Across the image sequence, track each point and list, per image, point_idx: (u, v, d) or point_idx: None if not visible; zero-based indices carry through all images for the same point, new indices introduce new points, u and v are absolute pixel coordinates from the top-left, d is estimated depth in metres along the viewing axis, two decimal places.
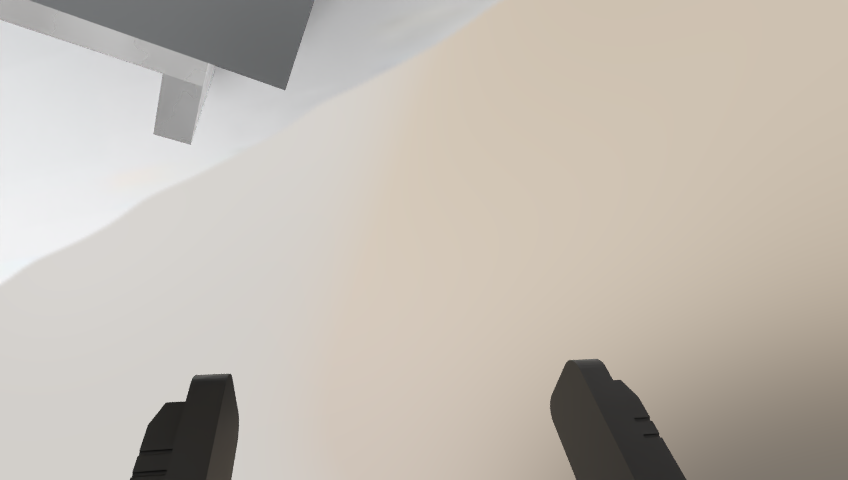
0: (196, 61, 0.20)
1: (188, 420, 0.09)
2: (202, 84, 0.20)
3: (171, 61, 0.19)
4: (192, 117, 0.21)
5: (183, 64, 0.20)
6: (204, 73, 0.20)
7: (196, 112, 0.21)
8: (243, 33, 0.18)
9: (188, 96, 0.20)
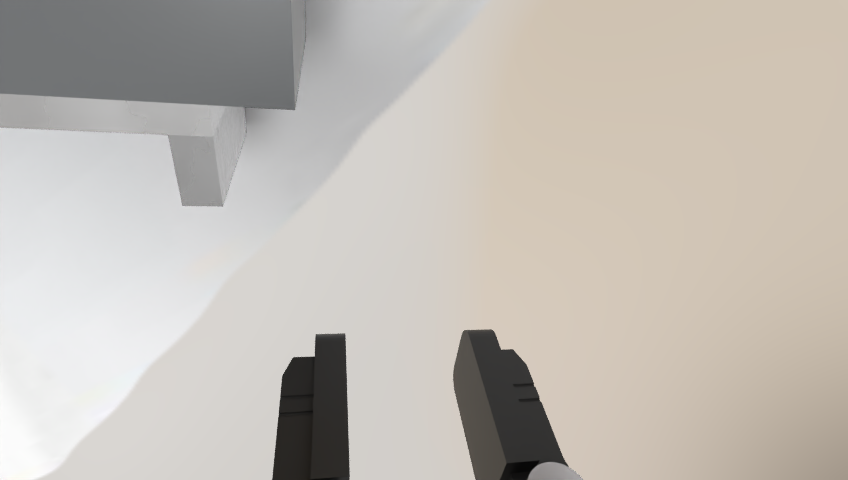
0: (196, 109, 0.17)
1: (321, 370, 0.11)
2: (211, 134, 0.18)
3: (171, 118, 0.17)
4: (214, 174, 0.19)
5: (184, 117, 0.17)
6: (209, 121, 0.17)
7: (216, 168, 0.18)
8: (227, 57, 0.15)
9: (202, 152, 0.18)
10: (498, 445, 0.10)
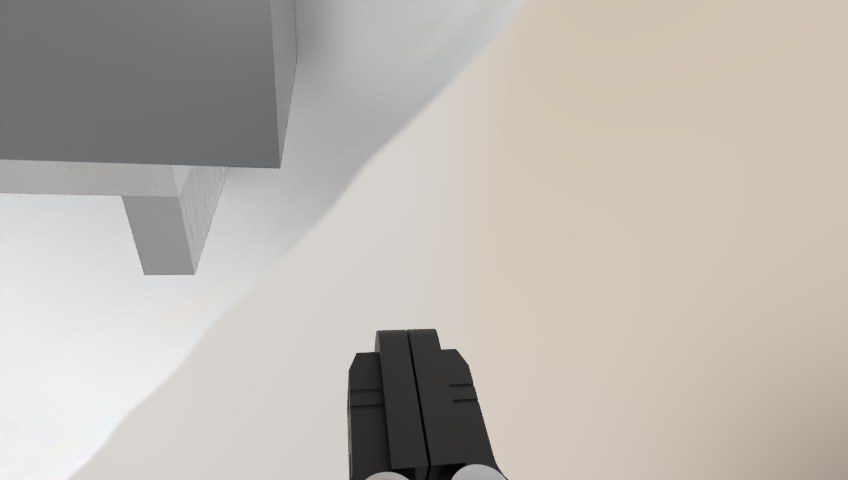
0: (155, 166, 0.14)
1: (387, 365, 0.11)
2: (177, 193, 0.14)
3: (124, 176, 0.14)
4: (182, 239, 0.15)
5: (141, 175, 0.14)
6: (173, 178, 0.14)
7: (184, 232, 0.15)
8: (189, 106, 0.12)
9: (166, 214, 0.14)
10: (426, 447, 0.10)
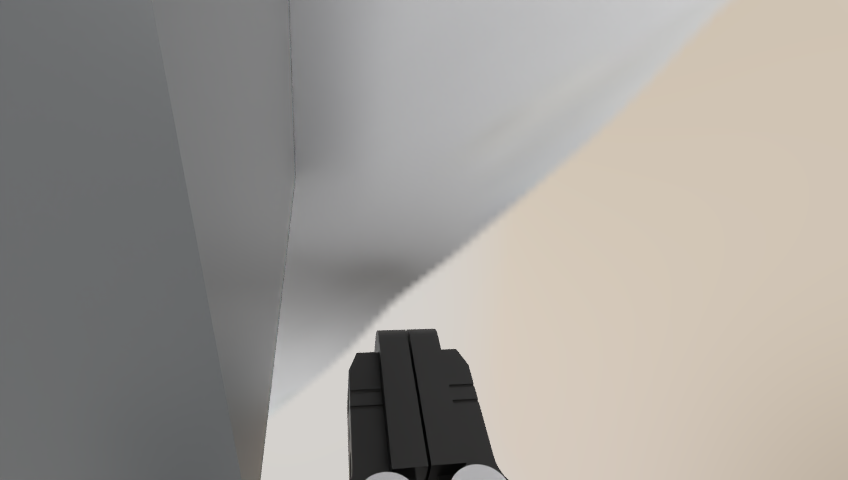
0: None
1: (387, 365, 0.11)
2: None
3: None
4: None
5: None
6: None
7: None
8: None
9: None
10: (426, 447, 0.10)
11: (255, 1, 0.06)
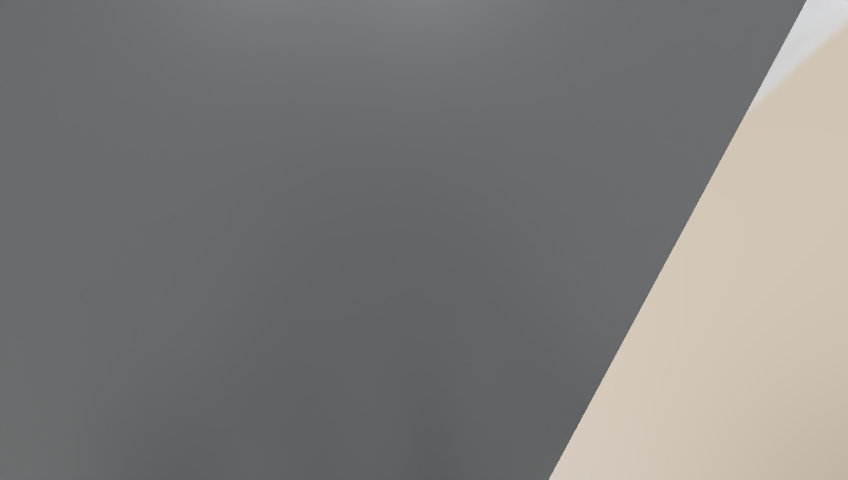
0: None
1: None
2: None
3: None
4: None
5: None
6: None
7: None
8: (391, 474, 0.05)
9: None
10: None
11: None
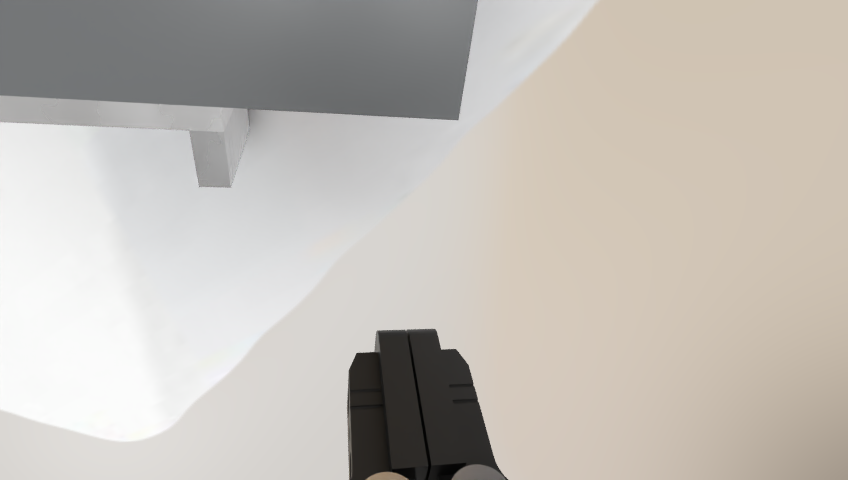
0: (211, 111, 0.22)
1: (387, 365, 0.11)
2: (222, 130, 0.23)
3: (192, 117, 0.22)
4: (224, 161, 0.24)
5: (202, 117, 0.22)
6: (221, 119, 0.23)
7: (226, 156, 0.24)
8: (420, 83, 0.22)
9: (215, 143, 0.23)
10: (427, 447, 0.10)
11: None
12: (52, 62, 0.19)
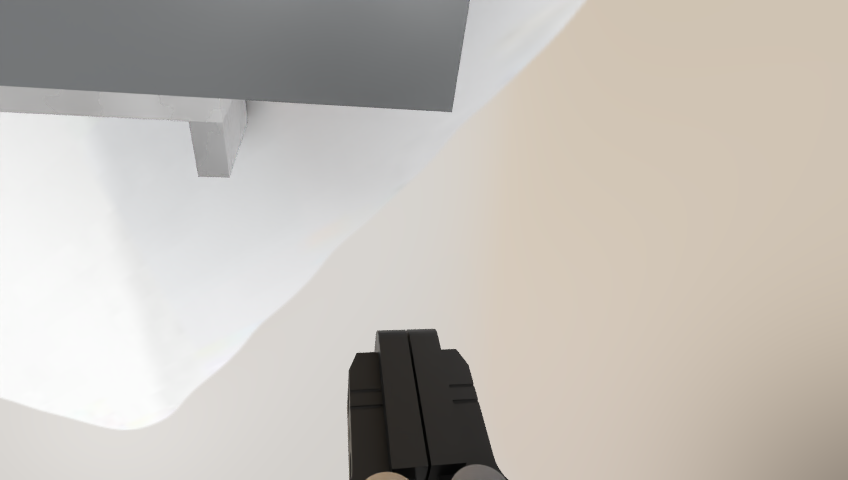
0: (210, 102, 0.23)
1: (387, 365, 0.11)
2: (221, 121, 0.23)
3: (191, 108, 0.23)
4: (223, 152, 0.24)
5: (201, 108, 0.23)
6: (219, 110, 0.23)
7: (224, 147, 0.24)
8: (414, 76, 0.23)
9: (214, 134, 0.24)
10: (426, 446, 0.10)
11: None
12: (55, 53, 0.20)
